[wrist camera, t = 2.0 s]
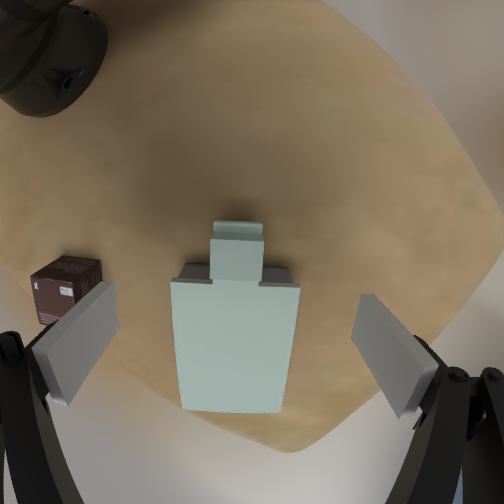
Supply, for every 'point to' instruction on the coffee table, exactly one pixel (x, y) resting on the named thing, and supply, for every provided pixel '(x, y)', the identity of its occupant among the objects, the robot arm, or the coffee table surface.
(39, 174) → the coffee table surface
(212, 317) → the lid
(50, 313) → the box
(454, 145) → the coffee table surface
